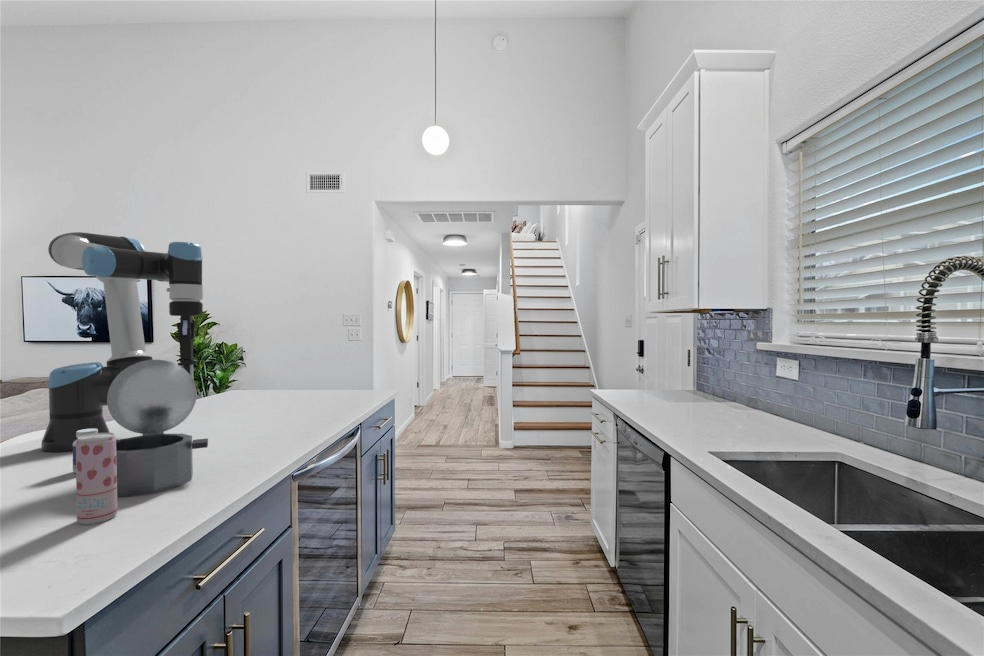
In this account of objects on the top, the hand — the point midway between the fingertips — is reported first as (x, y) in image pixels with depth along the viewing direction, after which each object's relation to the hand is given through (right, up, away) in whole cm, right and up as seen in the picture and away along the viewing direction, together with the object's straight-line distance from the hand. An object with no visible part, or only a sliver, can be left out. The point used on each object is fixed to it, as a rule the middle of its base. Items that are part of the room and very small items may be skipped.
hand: (187, 389), depth 129 cm
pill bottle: (-15, -18, -13) cm, 27 cm away
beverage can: (+10, -18, -42) cm, 47 cm away
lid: (0, 0, -14) cm, 14 cm away
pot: (+6, -18, -23) cm, 29 cm away
